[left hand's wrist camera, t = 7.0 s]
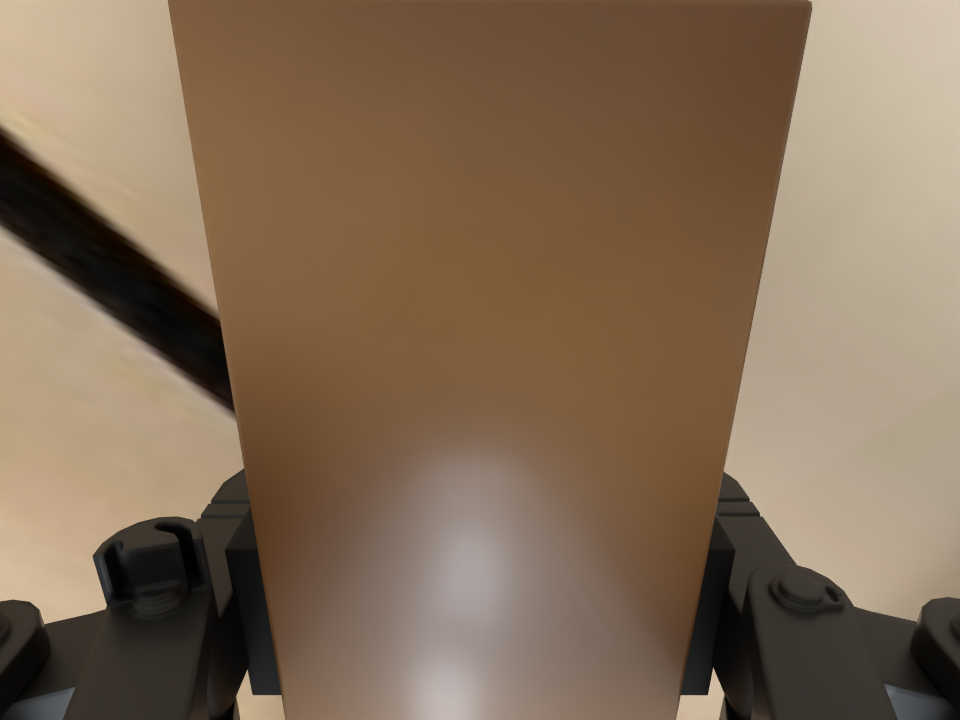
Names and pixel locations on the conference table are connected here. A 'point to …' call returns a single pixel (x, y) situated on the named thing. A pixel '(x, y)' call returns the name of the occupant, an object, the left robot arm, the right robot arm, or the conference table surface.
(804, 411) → the conference table surface
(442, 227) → the beam
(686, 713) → the conference table surface
